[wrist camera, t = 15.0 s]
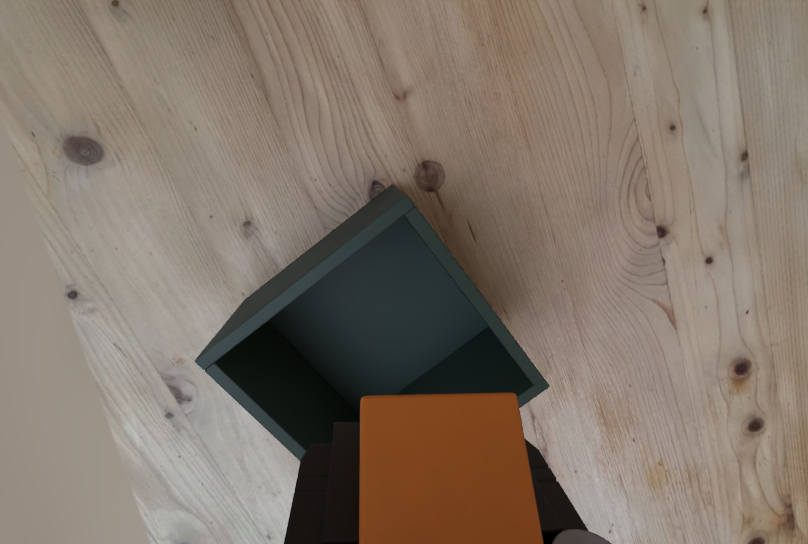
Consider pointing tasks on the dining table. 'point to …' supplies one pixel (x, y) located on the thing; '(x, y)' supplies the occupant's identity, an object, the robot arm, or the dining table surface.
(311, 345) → the open box
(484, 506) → the block
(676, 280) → the dining table surface
